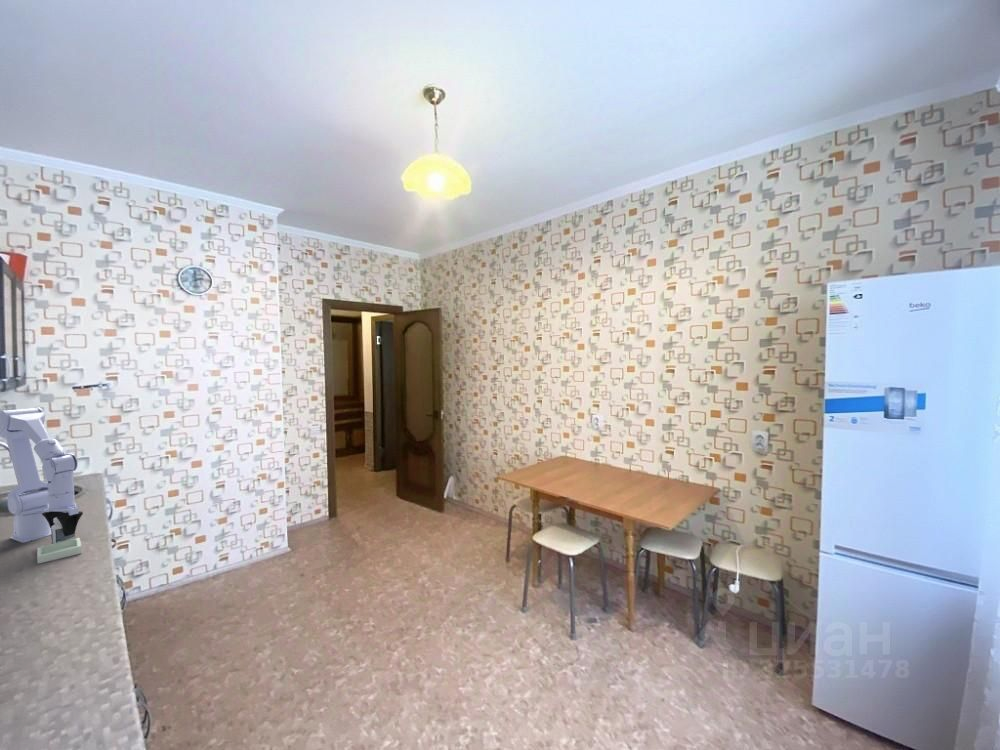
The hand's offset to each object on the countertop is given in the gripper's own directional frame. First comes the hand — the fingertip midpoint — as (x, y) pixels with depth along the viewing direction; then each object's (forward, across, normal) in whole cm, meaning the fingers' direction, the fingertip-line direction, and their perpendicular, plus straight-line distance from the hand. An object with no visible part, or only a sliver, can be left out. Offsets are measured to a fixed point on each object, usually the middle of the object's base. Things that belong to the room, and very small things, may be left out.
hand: (63, 533), depth 132 cm
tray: (+3, +9, -4) cm, 11 cm away
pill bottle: (+4, 0, 0) cm, 4 cm away
